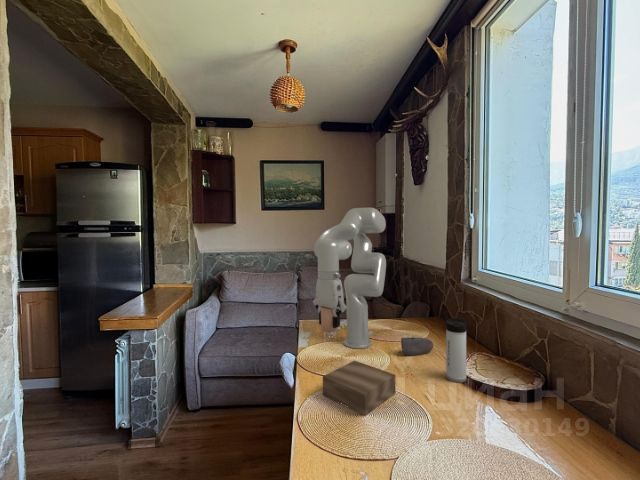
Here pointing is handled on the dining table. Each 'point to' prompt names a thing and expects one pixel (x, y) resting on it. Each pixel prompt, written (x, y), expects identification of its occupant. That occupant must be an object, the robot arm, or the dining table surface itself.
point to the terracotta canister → (327, 320)
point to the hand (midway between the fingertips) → (329, 324)
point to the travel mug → (456, 350)
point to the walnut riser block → (359, 386)
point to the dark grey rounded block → (416, 346)
